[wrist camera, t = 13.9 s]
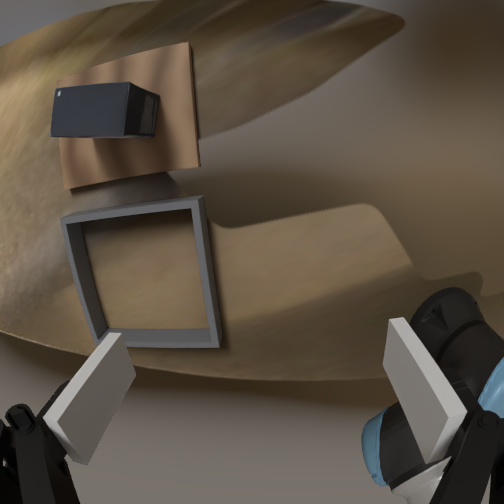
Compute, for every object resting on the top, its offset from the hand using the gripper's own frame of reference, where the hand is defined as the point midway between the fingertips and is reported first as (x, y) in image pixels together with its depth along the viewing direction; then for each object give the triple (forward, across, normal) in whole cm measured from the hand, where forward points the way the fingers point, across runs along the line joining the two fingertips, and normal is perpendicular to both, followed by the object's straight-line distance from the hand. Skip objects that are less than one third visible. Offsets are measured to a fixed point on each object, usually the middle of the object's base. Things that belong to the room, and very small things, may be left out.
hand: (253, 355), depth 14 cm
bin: (+30, +19, +6) cm, 36 cm away
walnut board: (+30, +19, -18) cm, 39 cm away
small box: (+28, +18, -17) cm, 38 cm away
